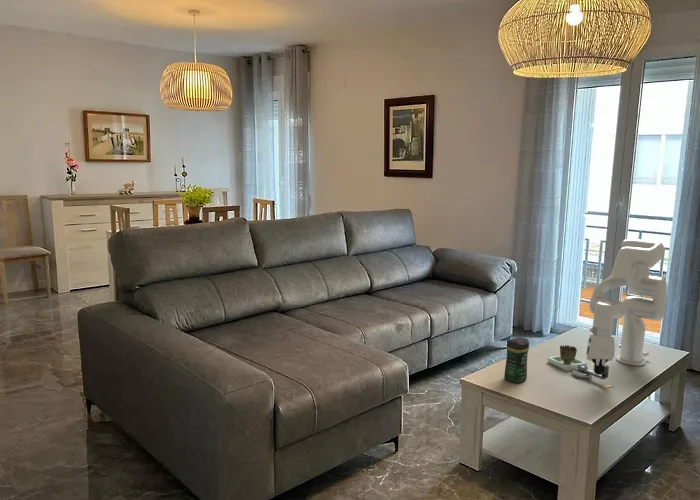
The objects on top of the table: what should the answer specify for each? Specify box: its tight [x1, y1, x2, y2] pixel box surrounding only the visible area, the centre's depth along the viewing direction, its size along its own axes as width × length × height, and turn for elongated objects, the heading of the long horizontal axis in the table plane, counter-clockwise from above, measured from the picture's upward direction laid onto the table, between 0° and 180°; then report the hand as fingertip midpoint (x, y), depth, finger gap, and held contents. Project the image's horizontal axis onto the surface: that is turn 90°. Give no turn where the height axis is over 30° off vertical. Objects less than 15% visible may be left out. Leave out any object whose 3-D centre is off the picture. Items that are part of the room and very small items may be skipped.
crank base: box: [571, 368, 593, 380], centre depth 240 cm, size 8×8×2 cm
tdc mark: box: [601, 384, 613, 389], centre depth 228 cm, size 5×1×1 cm, turn 113°
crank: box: [578, 364, 610, 380], centre depth 235 cm, size 14×4×6 cm, turn 28°
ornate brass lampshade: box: [559, 344, 578, 365], centre depth 252 cm, size 8×7×8 cm
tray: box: [547, 355, 588, 372], centre depth 252 cm, size 12×12×2 cm
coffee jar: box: [503, 336, 530, 384], centre depth 233 cm, size 10×8×19 cm
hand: (597, 373), depth 229 cm, fingers closed
